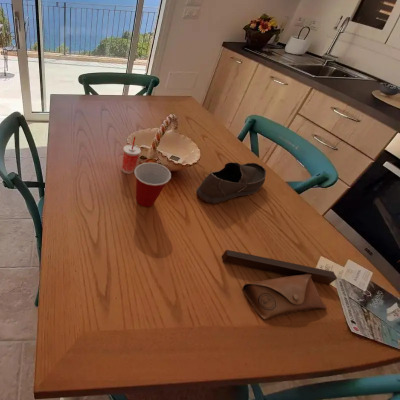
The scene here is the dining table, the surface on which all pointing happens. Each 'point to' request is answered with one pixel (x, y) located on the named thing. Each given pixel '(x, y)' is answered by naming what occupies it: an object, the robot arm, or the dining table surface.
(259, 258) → the rail
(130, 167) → the beverage cup
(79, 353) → the dining table surface
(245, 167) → the loafer
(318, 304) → the sunglasses case
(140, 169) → the plastic cup
